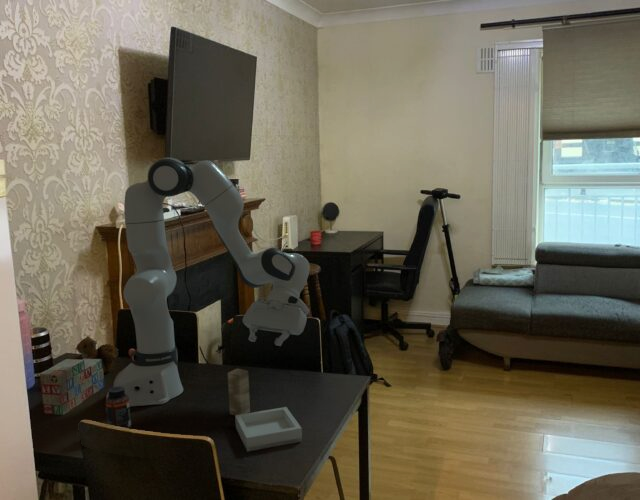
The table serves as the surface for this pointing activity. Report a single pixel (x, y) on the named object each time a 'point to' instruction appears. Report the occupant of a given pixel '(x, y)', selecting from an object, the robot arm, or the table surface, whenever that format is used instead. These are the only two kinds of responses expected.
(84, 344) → the stuffed squirrel
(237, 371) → the handle block
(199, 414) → the table surface
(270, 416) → the tray
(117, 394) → the supplement bottle
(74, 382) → the stack of blocks
